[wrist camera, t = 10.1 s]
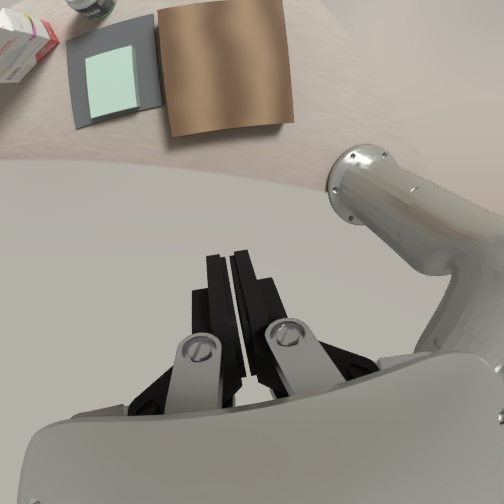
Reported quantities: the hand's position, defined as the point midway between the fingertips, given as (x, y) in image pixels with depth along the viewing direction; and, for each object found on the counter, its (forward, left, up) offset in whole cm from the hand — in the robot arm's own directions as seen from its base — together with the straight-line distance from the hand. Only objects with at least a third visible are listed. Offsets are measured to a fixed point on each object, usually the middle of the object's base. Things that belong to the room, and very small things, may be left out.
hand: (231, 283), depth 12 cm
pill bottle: (+12, -25, -27) cm, 39 cm away
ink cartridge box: (+23, -22, -27) cm, 42 cm away
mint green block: (+11, -13, -25) cm, 30 cm away
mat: (+11, -14, -27) cm, 33 cm away
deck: (-3, -12, -27) cm, 30 cm away
